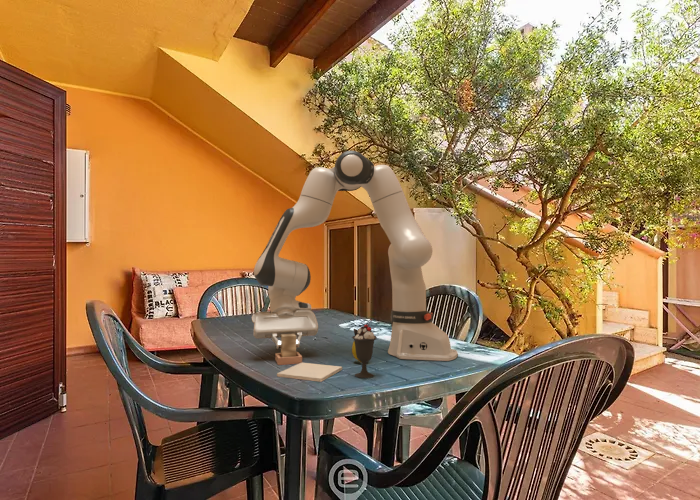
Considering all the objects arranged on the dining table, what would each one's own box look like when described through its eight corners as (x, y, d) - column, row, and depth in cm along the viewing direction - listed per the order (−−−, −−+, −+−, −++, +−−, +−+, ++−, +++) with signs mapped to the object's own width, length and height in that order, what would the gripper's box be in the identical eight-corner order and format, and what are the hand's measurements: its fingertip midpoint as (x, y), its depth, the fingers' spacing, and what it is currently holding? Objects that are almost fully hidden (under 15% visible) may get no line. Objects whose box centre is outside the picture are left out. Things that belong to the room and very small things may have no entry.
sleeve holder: (298, 358, 130) (298, 351, 130) (302, 363, 123) (302, 356, 123) (275, 359, 128) (275, 353, 128) (278, 365, 121) (278, 358, 121)
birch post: (293, 359, 128) (293, 333, 128) (296, 362, 124) (296, 335, 124) (280, 360, 127) (281, 334, 127) (282, 363, 123) (282, 336, 123)
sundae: (380, 377, 107) (380, 319, 108) (356, 380, 105) (355, 320, 106) (372, 371, 113) (372, 316, 114) (348, 373, 111) (348, 317, 112)
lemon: (369, 365, 120) (368, 337, 121) (350, 364, 121) (350, 337, 122) (371, 361, 126) (371, 334, 126) (354, 360, 127) (353, 334, 127)
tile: (342, 369, 116) (342, 366, 116) (321, 381, 104) (321, 378, 104) (301, 365, 121) (301, 362, 121) (277, 376, 109) (277, 373, 109)
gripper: (251, 306, 130) (253, 342, 120) (315, 303, 136) (322, 338, 126) (250, 318, 134) (252, 355, 125) (312, 315, 140) (319, 350, 131)
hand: (288, 346), depth 126 cm, fingers closed on birch post, 4 cm apart
